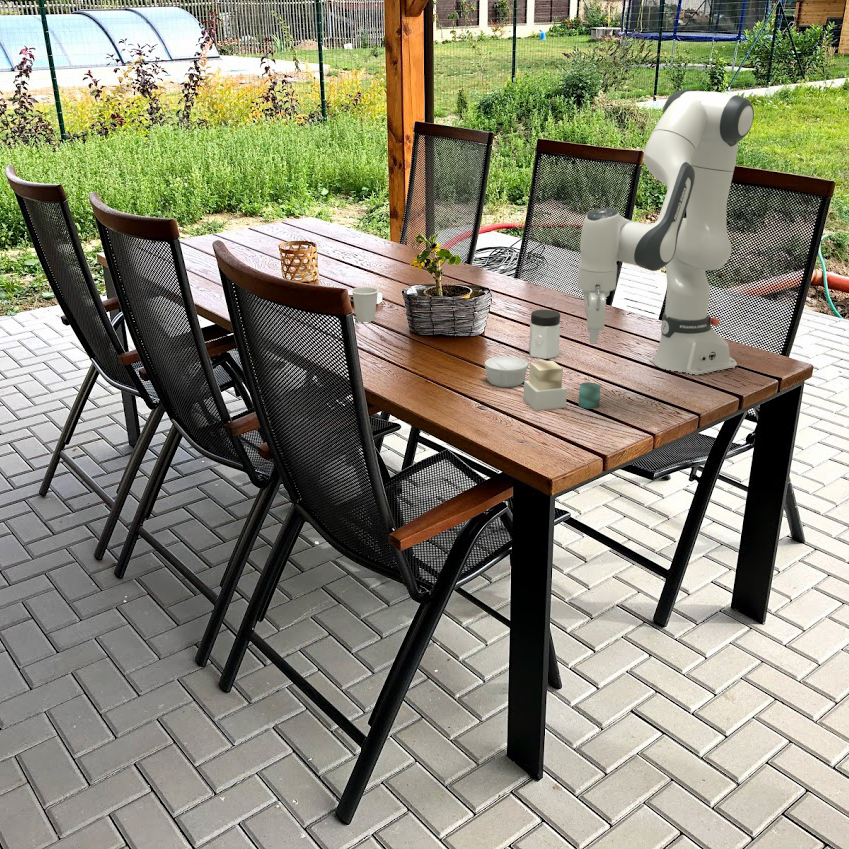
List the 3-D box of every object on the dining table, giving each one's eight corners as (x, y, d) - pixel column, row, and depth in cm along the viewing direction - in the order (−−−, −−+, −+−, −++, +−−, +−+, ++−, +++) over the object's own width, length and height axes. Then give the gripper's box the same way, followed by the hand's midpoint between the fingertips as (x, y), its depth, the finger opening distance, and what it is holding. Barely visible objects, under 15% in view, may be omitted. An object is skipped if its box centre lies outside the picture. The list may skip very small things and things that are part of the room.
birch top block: (551, 379, 230) (552, 360, 228) (561, 387, 225) (562, 368, 223) (529, 381, 228) (530, 362, 226) (538, 390, 223) (539, 370, 221)
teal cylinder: (593, 400, 230) (595, 381, 228) (602, 407, 226) (604, 388, 224) (575, 402, 229) (576, 383, 227) (583, 409, 224) (585, 390, 222)
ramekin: (475, 382, 242) (476, 363, 240) (499, 371, 250) (500, 352, 248) (512, 392, 235) (512, 372, 233) (535, 380, 243) (536, 361, 241)
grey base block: (552, 396, 233) (554, 377, 231) (565, 408, 226) (567, 388, 224) (523, 399, 231) (524, 380, 229) (535, 411, 224) (536, 391, 222)
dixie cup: (377, 324, 288) (377, 293, 285) (351, 324, 289) (350, 293, 285) (379, 317, 296) (379, 286, 292) (353, 317, 296) (352, 286, 292)
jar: (523, 355, 262) (525, 314, 257) (534, 347, 268) (536, 307, 263) (552, 360, 258) (555, 319, 253) (563, 352, 264) (566, 312, 259)
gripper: (613, 292, 205) (608, 351, 211) (607, 270, 224) (603, 325, 230) (585, 291, 206) (580, 350, 211) (581, 269, 225) (577, 324, 230)
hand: (592, 337), depth 221 cm, fingers open, 8 cm apart
